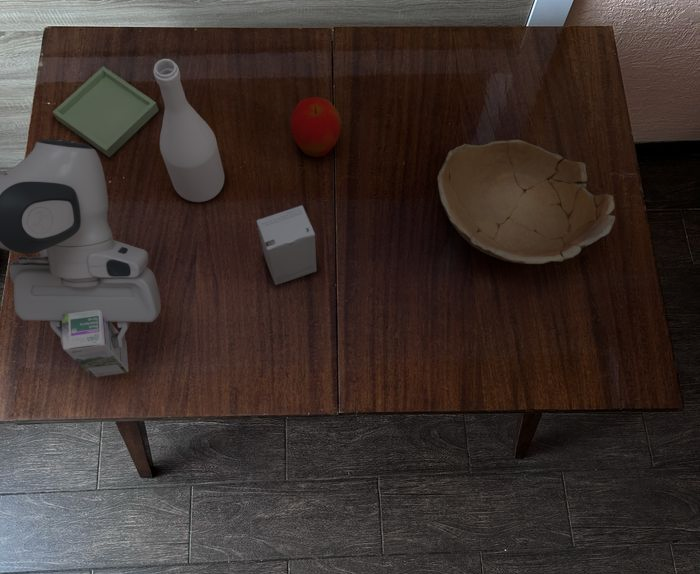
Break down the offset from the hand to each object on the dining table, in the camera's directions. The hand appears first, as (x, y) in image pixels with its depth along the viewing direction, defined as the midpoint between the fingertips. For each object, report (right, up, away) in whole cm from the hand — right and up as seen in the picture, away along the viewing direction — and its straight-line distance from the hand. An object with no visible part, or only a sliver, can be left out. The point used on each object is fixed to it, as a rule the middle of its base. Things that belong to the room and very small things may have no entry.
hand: (94, 346), depth 104 cm
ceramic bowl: (+68, +23, +25) cm, 76 cm away
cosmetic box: (+28, +14, +20) cm, 37 cm away
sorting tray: (-8, +44, +29) cm, 53 cm away
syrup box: (0, -2, +8) cm, 9 cm away
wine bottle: (+10, +31, +25) cm, 41 cm away
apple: (+32, +38, +29) cm, 57 cm away
